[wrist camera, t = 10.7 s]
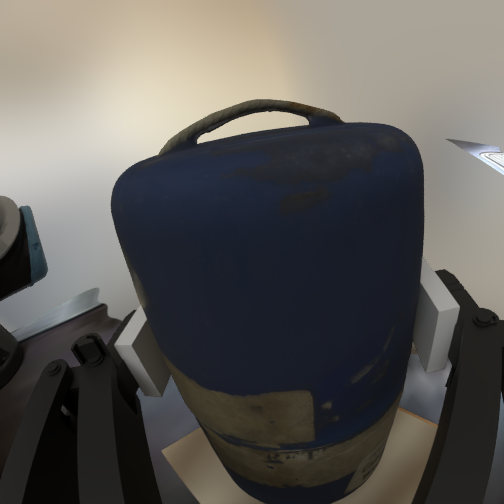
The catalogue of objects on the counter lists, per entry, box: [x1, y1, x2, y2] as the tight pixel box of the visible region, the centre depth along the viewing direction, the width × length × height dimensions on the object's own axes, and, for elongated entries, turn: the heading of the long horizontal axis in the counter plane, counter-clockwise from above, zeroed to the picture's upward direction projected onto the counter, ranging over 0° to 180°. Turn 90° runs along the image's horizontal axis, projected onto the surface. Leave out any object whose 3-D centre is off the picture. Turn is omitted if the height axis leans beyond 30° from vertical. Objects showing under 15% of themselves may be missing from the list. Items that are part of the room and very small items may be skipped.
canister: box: [111, 99, 424, 504], centre depth 12 cm, size 10×10×18 cm
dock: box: [162, 406, 438, 504], centre depth 17 cm, size 16×14×5 cm
